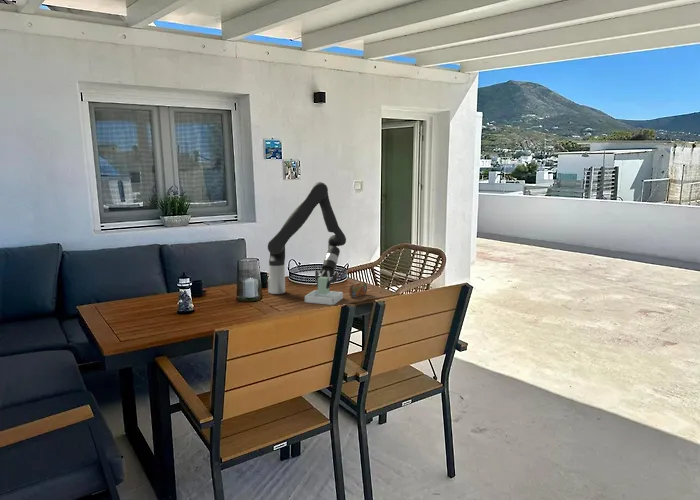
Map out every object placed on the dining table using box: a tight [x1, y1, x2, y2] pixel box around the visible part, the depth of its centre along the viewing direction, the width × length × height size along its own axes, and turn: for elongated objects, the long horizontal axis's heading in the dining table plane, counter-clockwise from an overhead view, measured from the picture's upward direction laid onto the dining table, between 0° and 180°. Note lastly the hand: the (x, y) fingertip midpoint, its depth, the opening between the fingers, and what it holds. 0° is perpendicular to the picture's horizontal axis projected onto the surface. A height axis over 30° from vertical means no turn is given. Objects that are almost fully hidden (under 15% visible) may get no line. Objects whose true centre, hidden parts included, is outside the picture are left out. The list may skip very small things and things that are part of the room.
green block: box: [317, 276, 330, 295], centre depth 271 cm, size 5×5×9 cm
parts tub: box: [304, 289, 344, 306], centre depth 272 cm, size 17×15×4 cm
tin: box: [348, 281, 368, 299], centre depth 282 cm, size 15×3×8 cm, turn 143°
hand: (322, 287), depth 269 cm, fingers closed on green block, 5 cm apart
